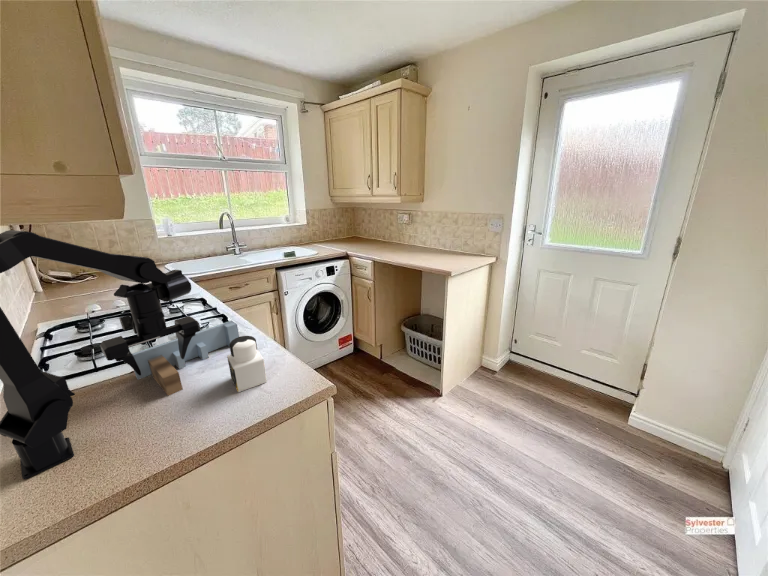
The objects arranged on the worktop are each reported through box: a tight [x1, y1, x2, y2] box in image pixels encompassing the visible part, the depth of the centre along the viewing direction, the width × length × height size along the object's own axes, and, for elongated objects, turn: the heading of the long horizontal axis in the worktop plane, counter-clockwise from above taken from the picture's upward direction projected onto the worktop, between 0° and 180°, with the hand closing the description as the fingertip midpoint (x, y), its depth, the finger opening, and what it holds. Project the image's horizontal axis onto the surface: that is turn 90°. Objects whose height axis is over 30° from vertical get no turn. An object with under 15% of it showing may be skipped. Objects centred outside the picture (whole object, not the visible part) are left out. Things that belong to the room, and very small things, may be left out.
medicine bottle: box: [227, 335, 268, 393], centre depth 78 cm, size 7×7×12 cm
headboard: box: [131, 320, 240, 380], centre depth 88 cm, size 4×26×7 cm, turn 140°
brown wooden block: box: [148, 355, 184, 396], centre depth 78 cm, size 12×3×5 cm, turn 50°
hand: (162, 366), depth 77 cm, fingers open, 9 cm apart
